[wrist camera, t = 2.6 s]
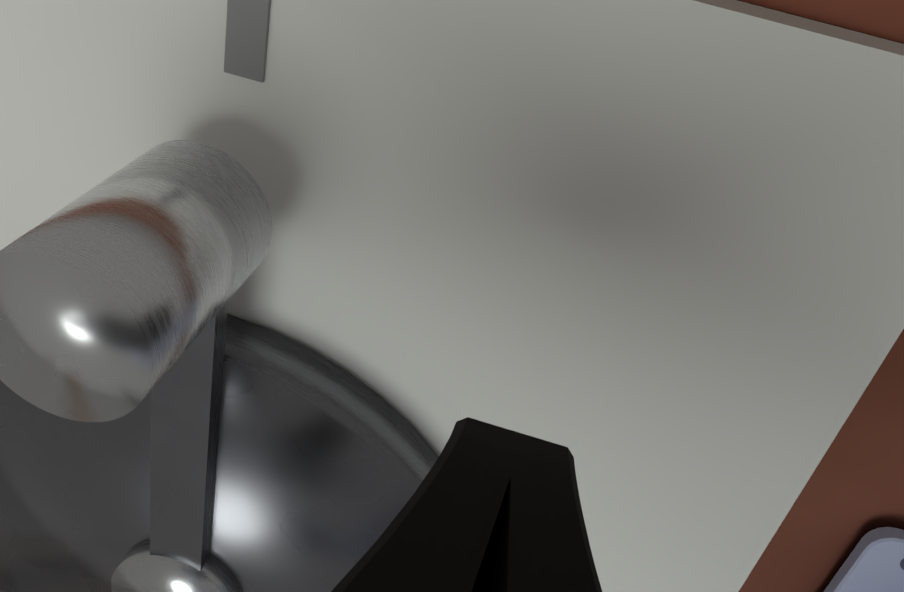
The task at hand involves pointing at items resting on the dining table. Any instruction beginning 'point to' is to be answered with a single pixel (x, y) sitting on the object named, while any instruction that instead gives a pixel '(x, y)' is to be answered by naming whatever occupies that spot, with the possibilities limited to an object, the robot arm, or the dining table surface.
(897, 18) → the dining table surface
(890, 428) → the dining table surface
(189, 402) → the dial
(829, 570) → the dining table surface
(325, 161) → the dial plate
